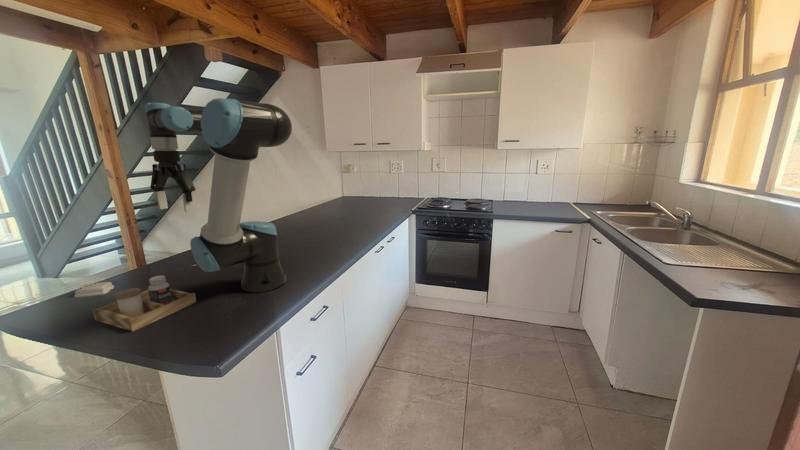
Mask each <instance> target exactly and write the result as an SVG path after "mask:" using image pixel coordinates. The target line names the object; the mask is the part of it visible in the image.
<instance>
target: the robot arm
mask: <svg viewBox="0 0 800 450" xmlns="http://www.w3.org/2000/svg"><path fill="white" fill-rule="evenodd" d="M144 110H145V112H144V114H145V117H146V122H147V127H148V132H149V137H150V144H151V150H154V151H152V154H153V155H152V156H153V159H154V161H155V163H153V164H152V166H151V168H152V172H151V180H150V187H149V188H150V190H153V191H154V192H155V195H156V200H157V204H158V205H157V206H158V209H159V210H165V209H168V208H169V207H168V205H169V204H168V199H167V195H166V189H165V186H166V184H167V181H168V179H169V178H171V179H173V180H174V181H175V183H176V184H177V185H178V187H179V188H180V189H181V190H182V191H181V196H182V202H183V208H184V212H185V213H186V212H192V211H194V205H193V196H192V195H193V194H192V193H193V192H195V191H196V187H195V185H194V183H193V181H192V179H191V177H190V174H189V173H188V171H187V167H186V165H185V164H184V163H181V164H179V163H178V162H181V154H180V151H179V144H178V136H177V132H178V133H179V132H180V133H201V135H202V138H203V140H204V142H206V144H207V145H208V146H209V150H210V151H211V152H212V153H213V154H214V159H213V163H214V164H213V169H212V171H213V172H212V179H211V187H210V188H211V189H210V199H209V207H208V215H207V223H204V225H203V226H201V228H200V234H199V236H195V237H193V238H191V239H190V244H189V245H190V250H191V251H190V252H191V253H192V257H193V258H194V261H195V263H196V264H197V266H198V267H199V268H200V269H201V270H202V271H203V272H205V273H212V272H216V271H217V272H218V271H221V270H224V269H228V268H230V267H234V266H237V265H240V264H244V267H243V273H242V278H241V281H240V283H241V285H240V286H241V289H242V290H243V291H245V292H248V293H263V292H264V293H265V292H269V291H272V289H273V290H276V289H278V288H280V287H282V286H283V285H282V284H284V283H285V282H287V276H286V272H285V271H284V269H283V266H282V264H281V262H280V255H279V254H280V253H279V244H278V232H277V228H276V225H275V224H274V223H272V222H268V221H260V220H259V221H252V220H251V221H243V222H241V219H242V213H243V208H244V207H243V206H244V203H245V202H244V200H245V194H246V189H247V182H248V178H249V173H250V167H251V162H252V161H255V160H256V159H257V158H258V156H259V155H258V154H259V149H260V148H274V147H278V146H281V145H283V144H285V143H286V142H287V141H288V140H289V138H290V137H291V134H292V131H293V126H292V121H291V119H290V116H289V114H287V113H286V112H285V111H284V109H282V108H280V107H278V106H277V105H274V104H271V103H270V104H269V103H263V102H262V103H261V102H257V101H256V102H255V101H247V100H240V99H235V98H231V97H230V98H221V97H219V98H214V99H211V100H210V101H208V102H207V104H205V105H204V108H203V110H200V109H193V108H192V109H191V108H184V107H182V106H174V105H170V104H169V103H165V102H146V103H145V105H144ZM285 284H286V283H285ZM285 284H284V285H285ZM281 285H282V286H281ZM279 286H280V287H279ZM277 287H278V288H277ZM275 288H276V289H275ZM268 290H269V291H268Z"/></svg>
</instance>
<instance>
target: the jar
mask: <svg viewBox="0 0 800 450" xmlns="http://www.w3.org/2000/svg"><path fill="white" fill-rule="evenodd" d="M141 292H142V290H141V288H139V287H130V288H126V289H122V290H120V291H118V292H115V293H114V298H115V299H116V301H117V302H118V307H119V311H120V314H122V315H126V316H129V317H133V318H135V317H137V316H140V315H142V314H144V313H145V312H144V308H143V303H142V298H141Z"/></svg>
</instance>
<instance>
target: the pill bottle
mask: <svg viewBox="0 0 800 450" xmlns="http://www.w3.org/2000/svg"><path fill="white" fill-rule="evenodd" d="M148 281H149V286H148V288H147V290H148V292H149V297H150V301H152V302H156V303H160V304H168V303H170V302H172V298H171V292H170V289H171V288H170V283H168V282H167V279H166V275H155V276H152V277H151V278H149V279H148Z"/></svg>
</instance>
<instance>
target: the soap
mask: <svg viewBox="0 0 800 450" xmlns="http://www.w3.org/2000/svg"><path fill="white" fill-rule="evenodd" d="M95 283H96V284H95ZM90 285H91V286H90ZM86 286H87V287H86ZM80 288H82V289H80ZM114 288H115V285H113V283H112V282H111V281H104V282H93V283H86V284H84V285H82V286H80V287H79V288H78V289H79V290H78V289H75V291H74V293H75V294H74V296H73V297H74V298H83V297H84V298H85V297H93V296H95V297H96V296H101V295H106V294H107V293H109V292H110V291H113V289H114Z"/></svg>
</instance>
